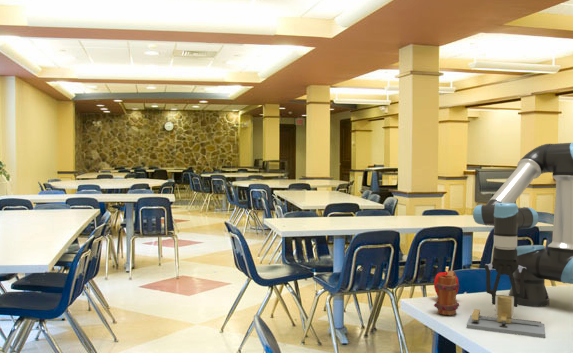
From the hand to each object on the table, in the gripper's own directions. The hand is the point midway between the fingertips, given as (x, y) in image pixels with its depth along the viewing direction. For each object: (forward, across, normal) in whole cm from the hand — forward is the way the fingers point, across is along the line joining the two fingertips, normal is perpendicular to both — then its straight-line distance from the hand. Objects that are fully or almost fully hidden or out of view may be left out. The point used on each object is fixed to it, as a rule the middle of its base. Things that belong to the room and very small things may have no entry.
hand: (504, 314), depth 182 cm
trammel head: (+2, 0, +2) cm, 3 cm away
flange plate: (+4, 0, +2) cm, 4 cm away
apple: (+4, +23, -27) cm, 36 cm away
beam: (+2, 0, +3) cm, 4 cm away
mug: (+4, +20, -9) cm, 22 cm away
